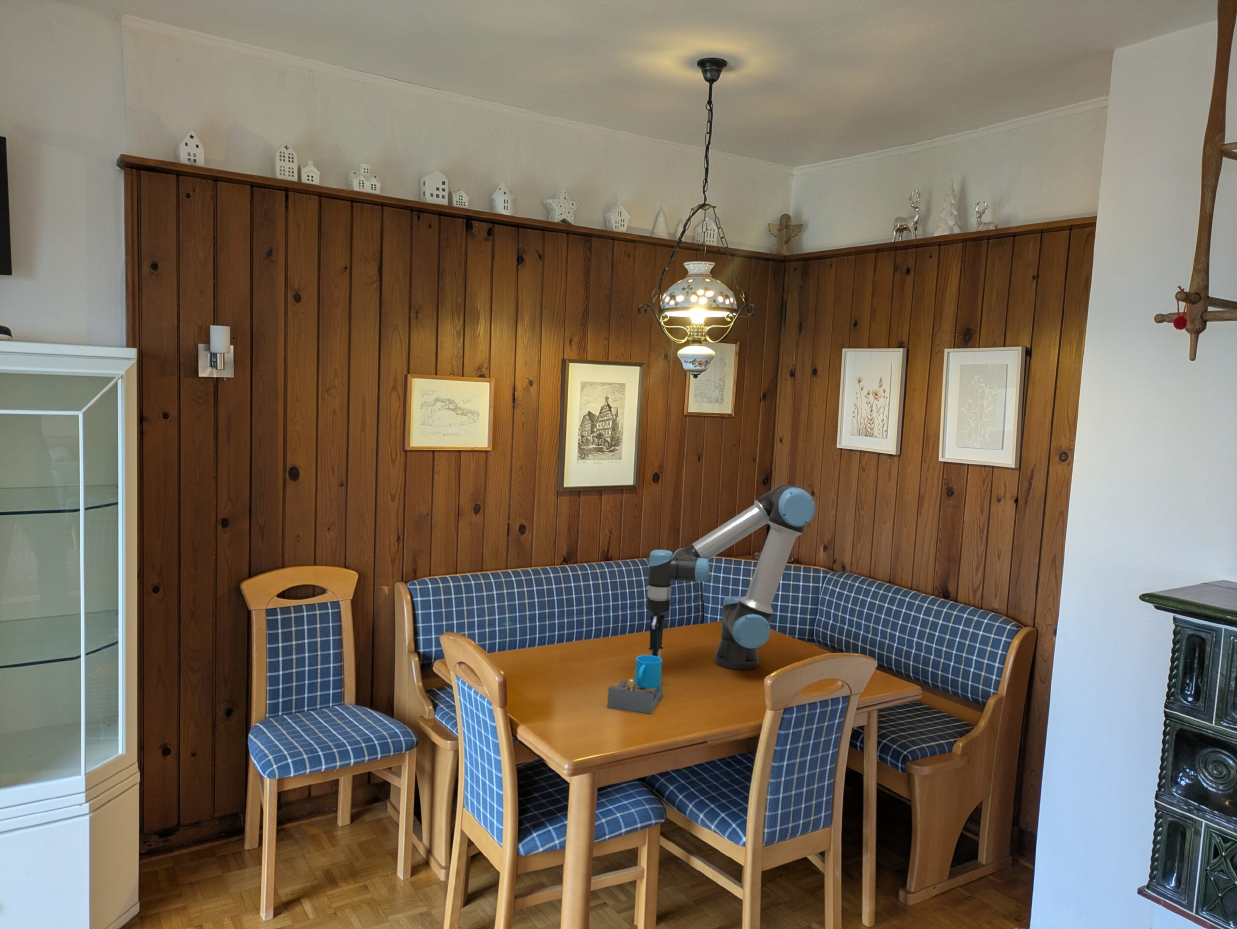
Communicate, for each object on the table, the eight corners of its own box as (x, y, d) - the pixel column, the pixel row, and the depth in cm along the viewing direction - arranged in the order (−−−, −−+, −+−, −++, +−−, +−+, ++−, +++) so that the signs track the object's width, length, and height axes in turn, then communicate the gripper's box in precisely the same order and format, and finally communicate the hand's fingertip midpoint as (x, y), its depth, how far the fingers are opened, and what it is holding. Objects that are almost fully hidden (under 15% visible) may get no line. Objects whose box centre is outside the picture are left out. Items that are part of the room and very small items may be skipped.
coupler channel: (662, 695, 266) (664, 666, 265) (651, 714, 250) (652, 683, 249) (621, 689, 269) (622, 661, 268) (607, 707, 253) (608, 677, 252)
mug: (640, 678, 281) (641, 653, 280) (664, 683, 277) (665, 657, 277) (625, 689, 270) (627, 663, 269) (650, 694, 266) (652, 668, 266)
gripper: (651, 592, 291) (647, 661, 293) (642, 601, 278) (638, 673, 280) (673, 594, 289) (669, 664, 291) (665, 603, 276) (661, 676, 278)
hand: (654, 669), depth 285 cm, fingers closed
